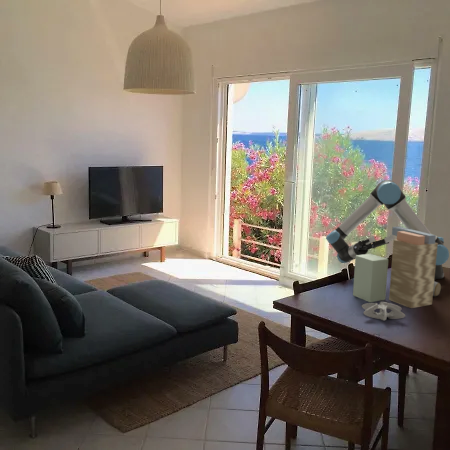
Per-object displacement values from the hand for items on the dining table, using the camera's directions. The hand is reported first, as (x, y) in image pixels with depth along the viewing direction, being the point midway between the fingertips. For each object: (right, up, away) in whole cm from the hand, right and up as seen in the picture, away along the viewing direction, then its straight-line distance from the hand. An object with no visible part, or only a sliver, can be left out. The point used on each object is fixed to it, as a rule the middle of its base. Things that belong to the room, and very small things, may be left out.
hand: (384, 237), depth 272 cm
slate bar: (+9, 0, -16) cm, 19 cm away
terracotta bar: (+5, -2, -24) cm, 25 cm away
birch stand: (+8, -31, -17) cm, 36 cm away
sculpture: (-13, -35, -39) cm, 54 cm away
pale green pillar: (-11, -30, -11) cm, 33 cm away
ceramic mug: (+23, -29, -4) cm, 37 cm away
